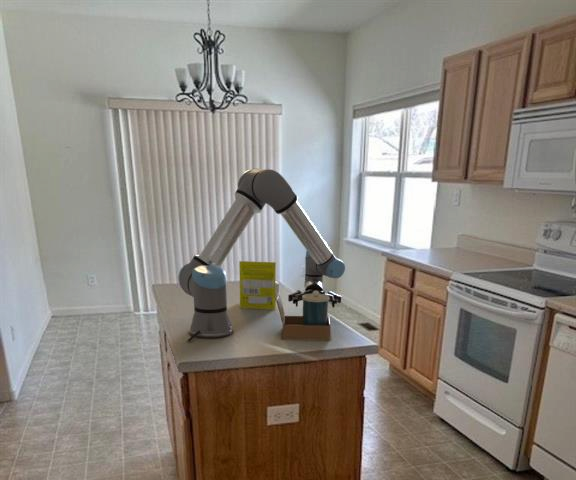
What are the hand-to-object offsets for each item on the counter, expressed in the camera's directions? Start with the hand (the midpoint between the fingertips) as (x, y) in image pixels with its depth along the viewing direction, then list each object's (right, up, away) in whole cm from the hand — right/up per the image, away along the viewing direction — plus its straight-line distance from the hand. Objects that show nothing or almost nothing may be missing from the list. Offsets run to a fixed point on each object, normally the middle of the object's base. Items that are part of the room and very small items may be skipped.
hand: (315, 303), depth 197 cm
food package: (-23, +3, +34) cm, 41 cm away
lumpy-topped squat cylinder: (-21, +10, +53) cm, 58 cm away
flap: (-13, -2, -5) cm, 14 cm away
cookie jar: (0, -12, -2) cm, 12 cm away
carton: (-3, -12, -2) cm, 12 cm away
